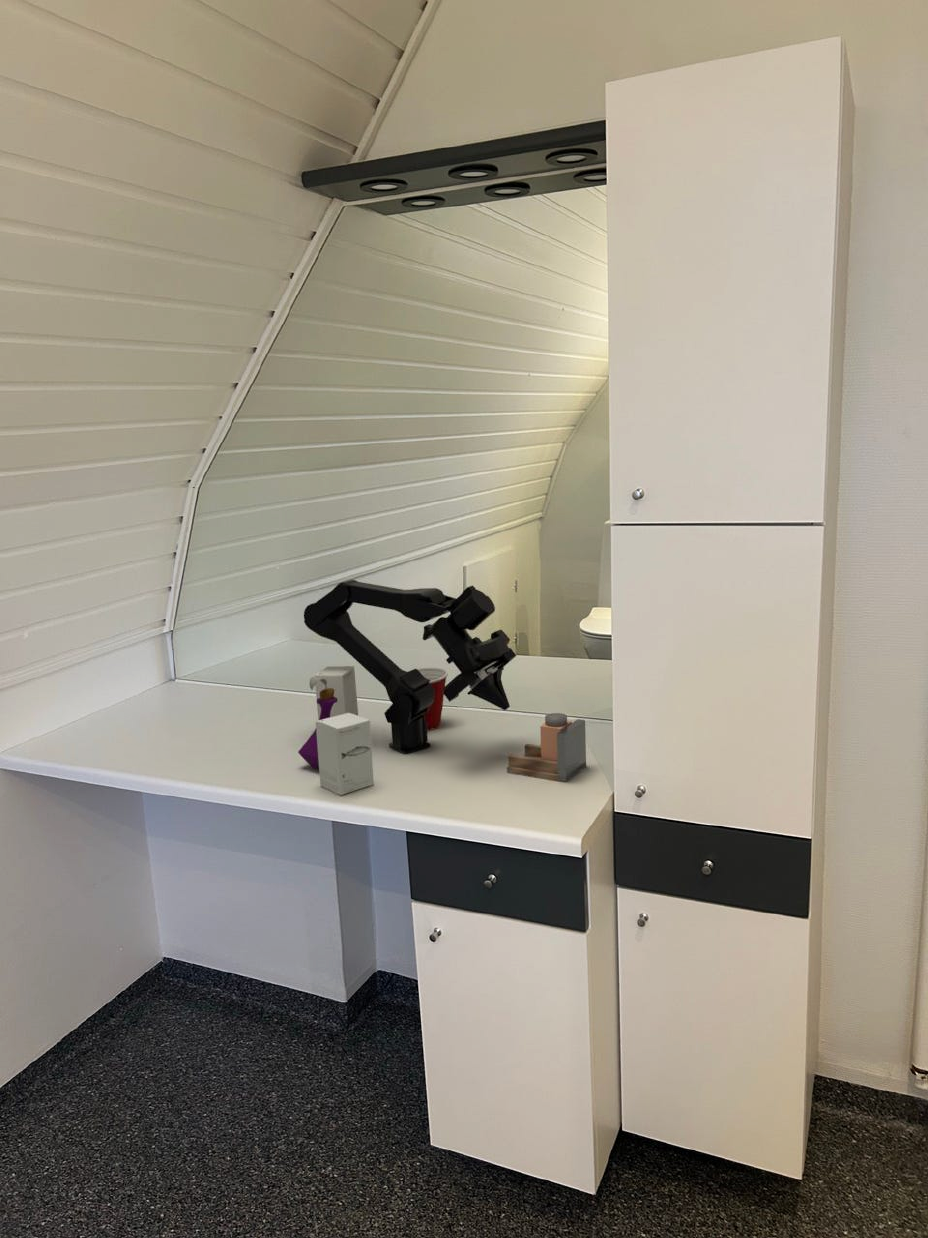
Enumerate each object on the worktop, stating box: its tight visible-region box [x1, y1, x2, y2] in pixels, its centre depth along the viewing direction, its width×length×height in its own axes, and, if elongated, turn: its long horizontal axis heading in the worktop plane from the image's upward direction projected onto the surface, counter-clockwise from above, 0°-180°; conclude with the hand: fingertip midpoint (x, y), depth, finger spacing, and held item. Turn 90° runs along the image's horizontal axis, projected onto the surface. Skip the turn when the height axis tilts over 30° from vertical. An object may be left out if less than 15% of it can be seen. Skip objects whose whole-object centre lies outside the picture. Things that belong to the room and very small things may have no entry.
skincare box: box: [313, 665, 359, 721], centre depth 195 cm, size 8×7×16 cm
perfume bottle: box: [297, 676, 338, 770], centre depth 181 cm, size 8×8×18 cm
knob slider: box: [539, 712, 573, 762], centre depth 173 cm, size 4×5×9 cm
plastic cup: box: [406, 666, 449, 731], centre depth 203 cm, size 11×11×12 cm
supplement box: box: [315, 713, 375, 796], centre depth 171 cm, size 7×7×13 cm
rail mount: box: [506, 718, 587, 783], centre depth 174 cm, size 12×9×9 cm
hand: (507, 708), depth 179 cm, fingers closed
